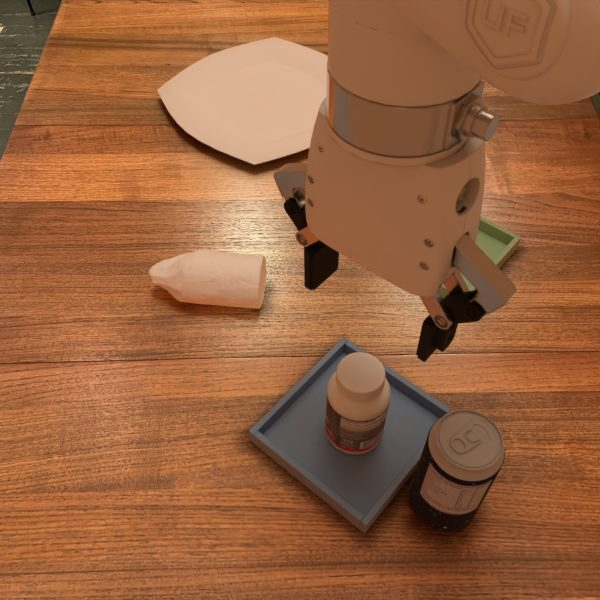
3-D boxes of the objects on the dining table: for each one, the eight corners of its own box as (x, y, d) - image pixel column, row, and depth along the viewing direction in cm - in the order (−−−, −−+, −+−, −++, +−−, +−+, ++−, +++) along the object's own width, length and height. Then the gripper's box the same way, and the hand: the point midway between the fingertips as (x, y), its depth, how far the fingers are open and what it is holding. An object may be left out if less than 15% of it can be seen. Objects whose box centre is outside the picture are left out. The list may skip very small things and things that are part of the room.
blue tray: (453, 422, 61) (456, 412, 60) (364, 534, 55) (366, 526, 53) (342, 347, 67) (343, 336, 65) (249, 440, 60) (248, 430, 59)
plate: (134, 100, 94) (131, 88, 93) (277, 36, 106) (277, 24, 104) (251, 194, 81) (251, 182, 80) (400, 110, 93) (401, 98, 91)
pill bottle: (324, 403, 62) (327, 343, 55) (380, 404, 62) (392, 344, 55) (324, 456, 59) (328, 400, 51) (384, 457, 59) (397, 401, 51)
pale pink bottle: (161, 269, 73) (152, 233, 69) (267, 277, 73) (265, 242, 68) (148, 311, 70) (138, 276, 65) (259, 320, 69) (257, 285, 65)
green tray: (517, 248, 76) (521, 237, 74) (461, 311, 70) (464, 300, 68) (428, 201, 81) (431, 190, 79) (369, 256, 75) (371, 245, 73)
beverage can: (487, 515, 56) (526, 451, 46) (434, 549, 54) (463, 489, 45) (446, 461, 59) (474, 391, 50) (394, 492, 57) (414, 425, 48)
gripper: (594, 128, 31) (510, 341, 44) (316, 17, 39) (314, 228, 52) (517, 209, 28) (450, 416, 41) (226, 70, 35) (249, 282, 48)
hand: (374, 311), depth 46 cm, fingers open, 9 cm apart
